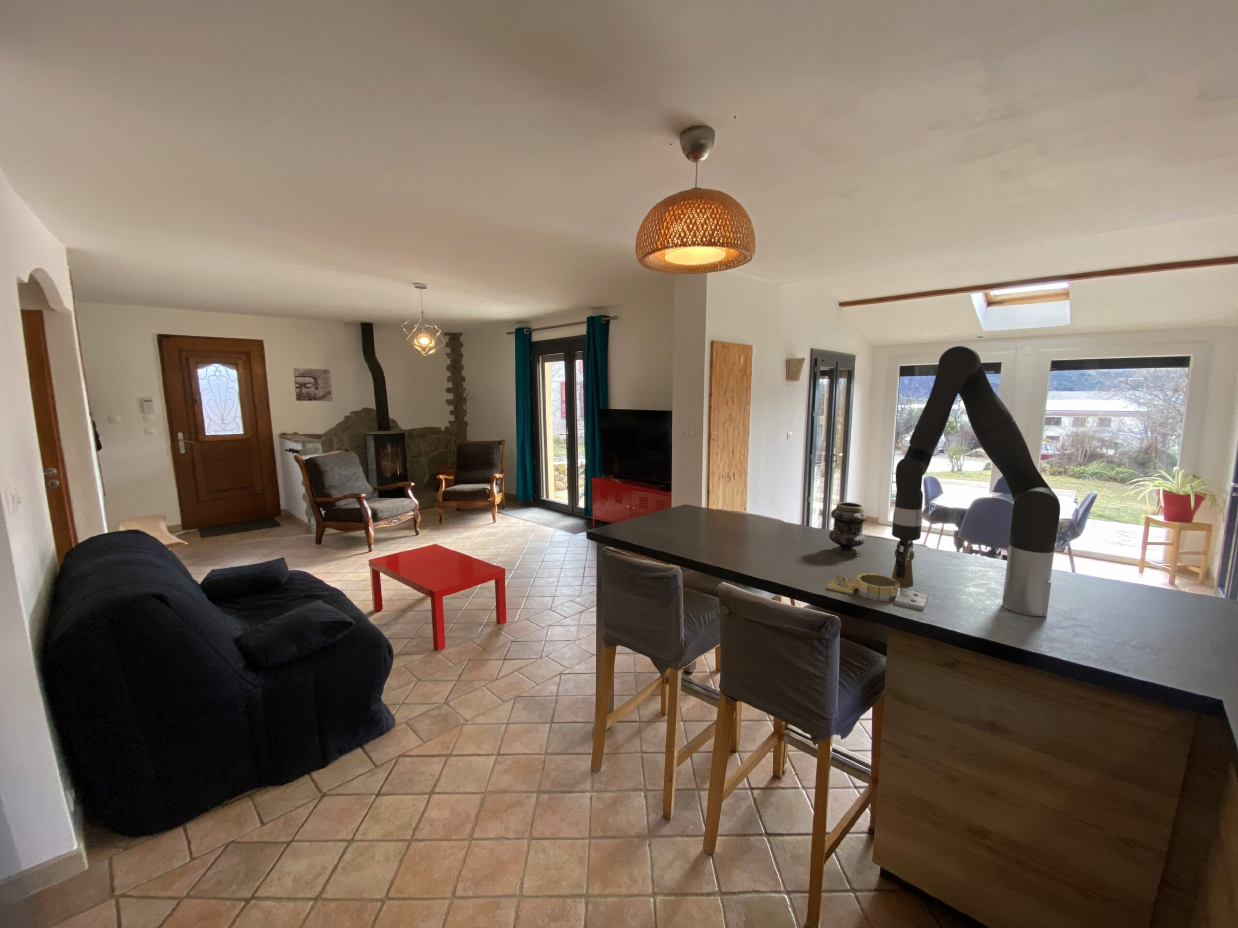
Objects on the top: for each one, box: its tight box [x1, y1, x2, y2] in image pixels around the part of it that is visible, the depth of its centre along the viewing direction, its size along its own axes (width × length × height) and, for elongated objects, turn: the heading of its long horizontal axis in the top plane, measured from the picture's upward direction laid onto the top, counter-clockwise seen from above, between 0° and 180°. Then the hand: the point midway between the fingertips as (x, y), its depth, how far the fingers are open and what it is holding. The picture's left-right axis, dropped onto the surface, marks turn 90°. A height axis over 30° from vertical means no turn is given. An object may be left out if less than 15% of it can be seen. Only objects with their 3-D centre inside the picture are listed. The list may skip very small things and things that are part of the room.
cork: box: [891, 548, 915, 588], centre depth 151 cm, size 6×6×11 cm
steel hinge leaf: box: [855, 581, 929, 612], centre depth 142 cm, size 18×11×2 cm, turn 52°
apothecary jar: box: [828, 501, 868, 557], centre depth 180 cm, size 12×12×18 cm
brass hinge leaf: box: [827, 572, 901, 596], centre depth 146 cm, size 18×11×4 cm, turn 52°
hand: (902, 573), depth 151 cm, fingers open, 8 cm apart
